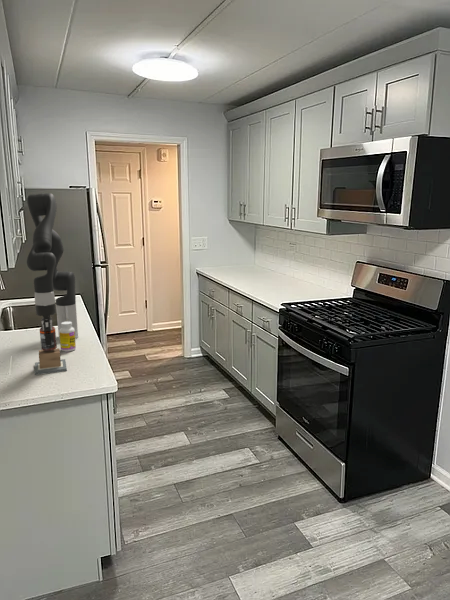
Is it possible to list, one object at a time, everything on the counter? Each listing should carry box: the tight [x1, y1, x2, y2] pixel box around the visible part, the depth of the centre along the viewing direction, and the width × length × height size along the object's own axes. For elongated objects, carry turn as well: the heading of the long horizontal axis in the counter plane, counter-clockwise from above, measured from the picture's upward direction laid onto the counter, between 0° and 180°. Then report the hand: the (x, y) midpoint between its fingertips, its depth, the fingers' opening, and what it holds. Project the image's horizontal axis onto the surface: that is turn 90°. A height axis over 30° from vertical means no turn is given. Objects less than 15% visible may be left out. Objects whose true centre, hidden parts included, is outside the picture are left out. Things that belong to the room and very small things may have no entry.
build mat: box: [34, 358, 67, 375], centre depth 191 cm, size 12×12×1 cm
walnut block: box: [38, 347, 62, 369], centre depth 191 cm, size 6×8×6 cm
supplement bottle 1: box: [39, 322, 58, 351], centre depth 189 cm, size 6×6×11 cm
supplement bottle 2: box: [59, 322, 77, 353], centre depth 213 cm, size 7×7×13 cm
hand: (48, 342), depth 189 cm, fingers closed on supplement bottle 1, 6 cm apart
